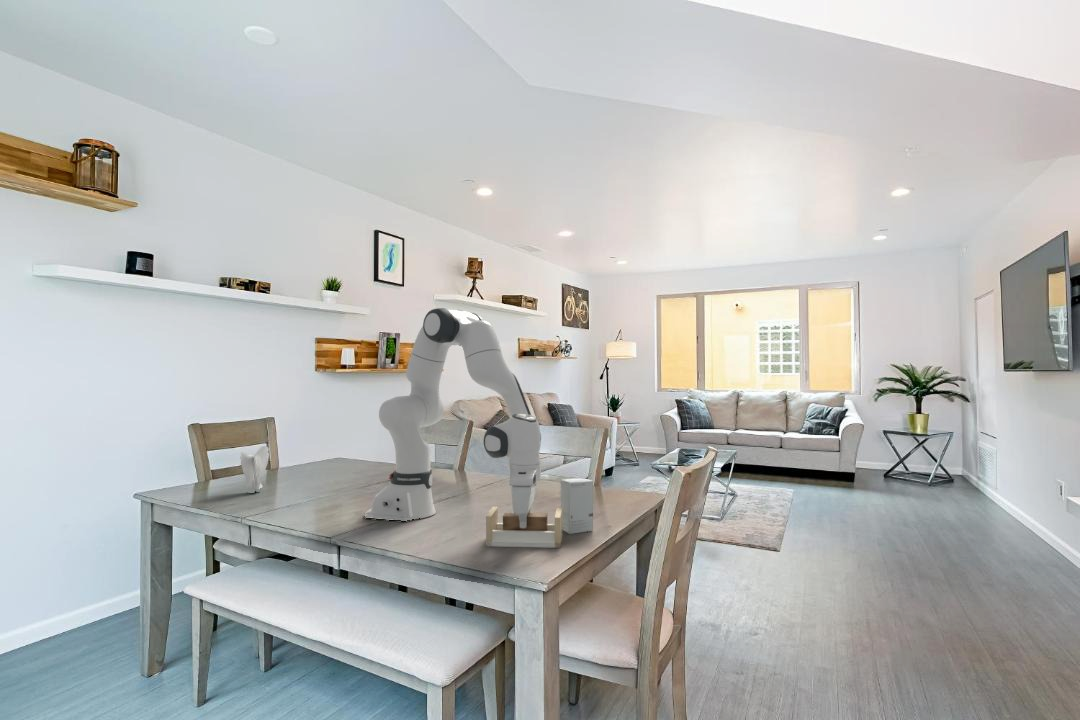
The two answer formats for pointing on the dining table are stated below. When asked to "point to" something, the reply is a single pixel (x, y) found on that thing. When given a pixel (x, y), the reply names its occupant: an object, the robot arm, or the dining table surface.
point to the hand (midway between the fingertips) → (525, 523)
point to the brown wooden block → (533, 522)
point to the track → (522, 533)
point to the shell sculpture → (254, 467)
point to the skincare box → (577, 505)
